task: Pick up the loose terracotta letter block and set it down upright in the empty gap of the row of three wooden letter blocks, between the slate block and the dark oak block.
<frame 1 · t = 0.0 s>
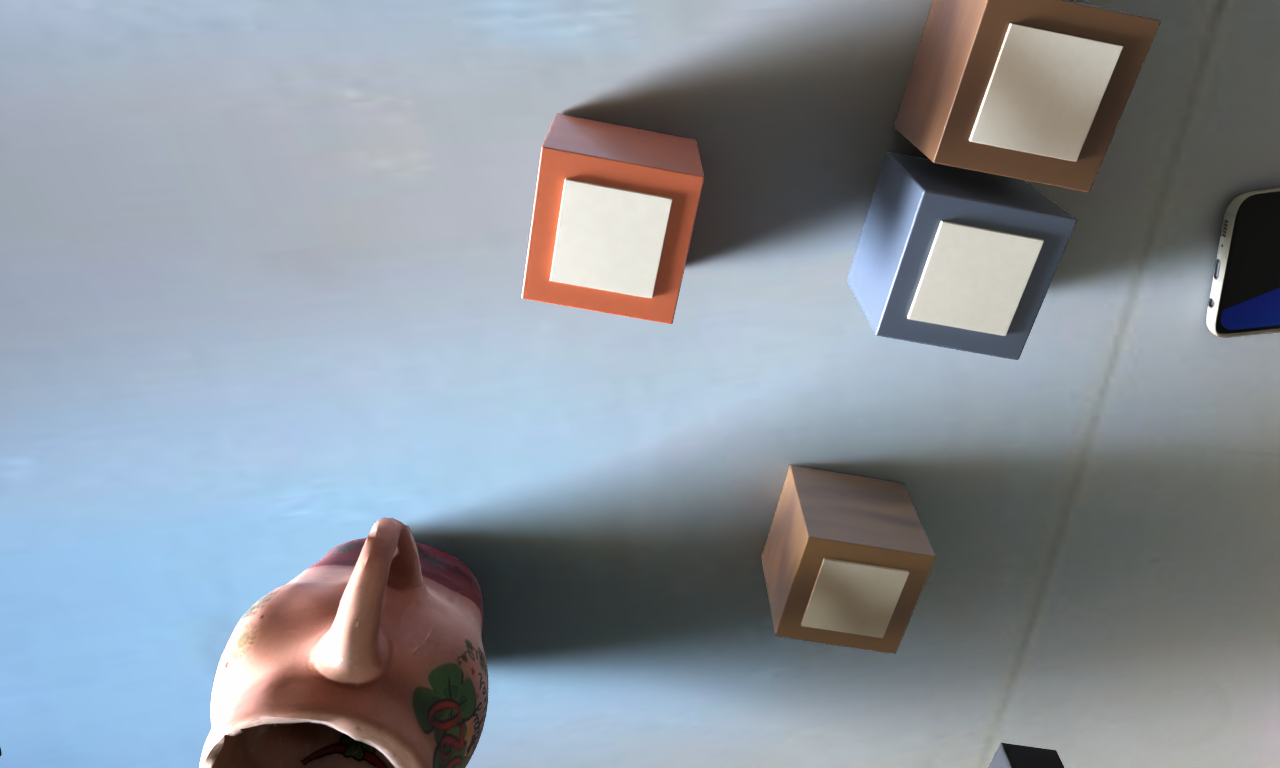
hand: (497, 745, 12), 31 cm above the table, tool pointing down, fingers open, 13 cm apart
terracotta block: (615, 195, 40), on the table
slate block: (930, 230, 40), on the table
oak block: (830, 520, 48), on the table
ceramic mug: (399, 575, 50), on the table
walnut block: (986, 67, 37), on the table
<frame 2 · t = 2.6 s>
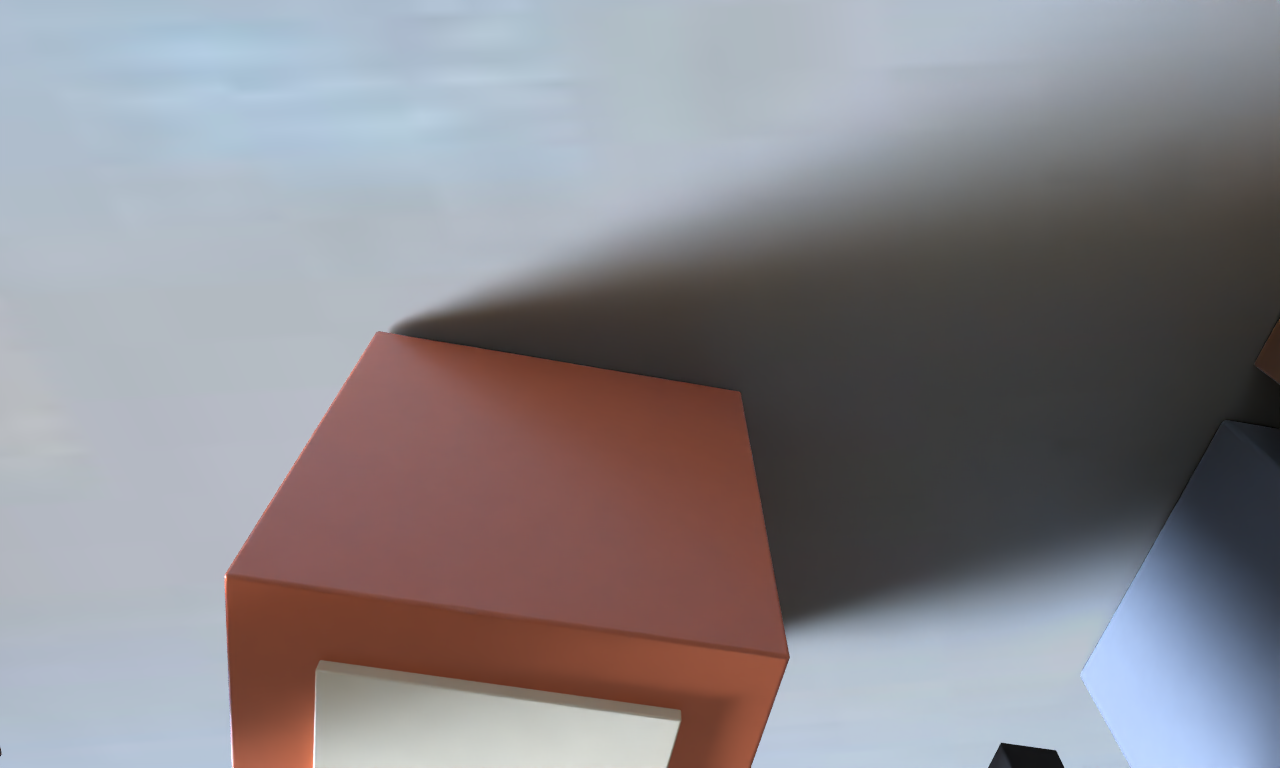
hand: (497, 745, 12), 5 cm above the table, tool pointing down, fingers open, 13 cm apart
terracotta block: (538, 508, 16), on the table
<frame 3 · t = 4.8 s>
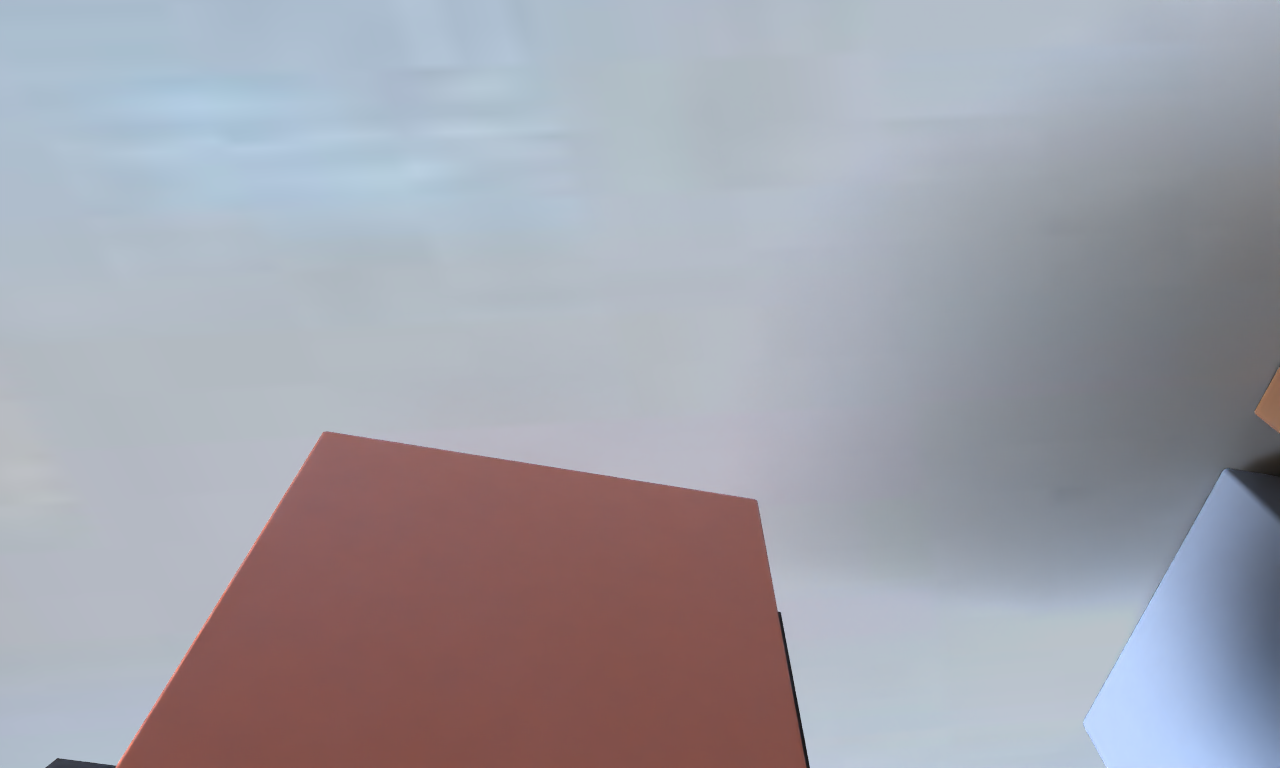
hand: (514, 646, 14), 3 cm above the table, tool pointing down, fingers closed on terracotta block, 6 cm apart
terracotta block: (518, 628, 14), point 2 cm above the table, touching gripper
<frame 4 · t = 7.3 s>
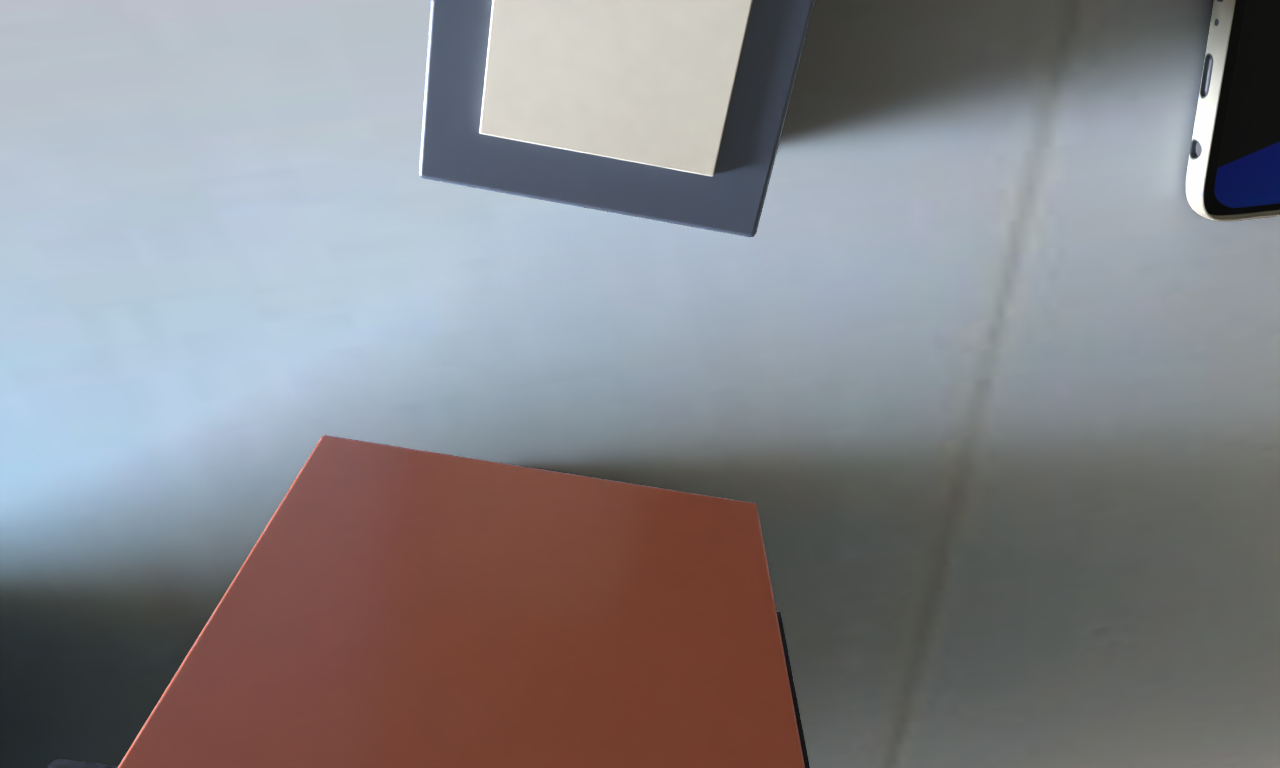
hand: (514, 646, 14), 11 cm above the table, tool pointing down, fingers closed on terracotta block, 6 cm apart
terracotta block: (517, 632, 14), point 11 cm above the table, touching gripper
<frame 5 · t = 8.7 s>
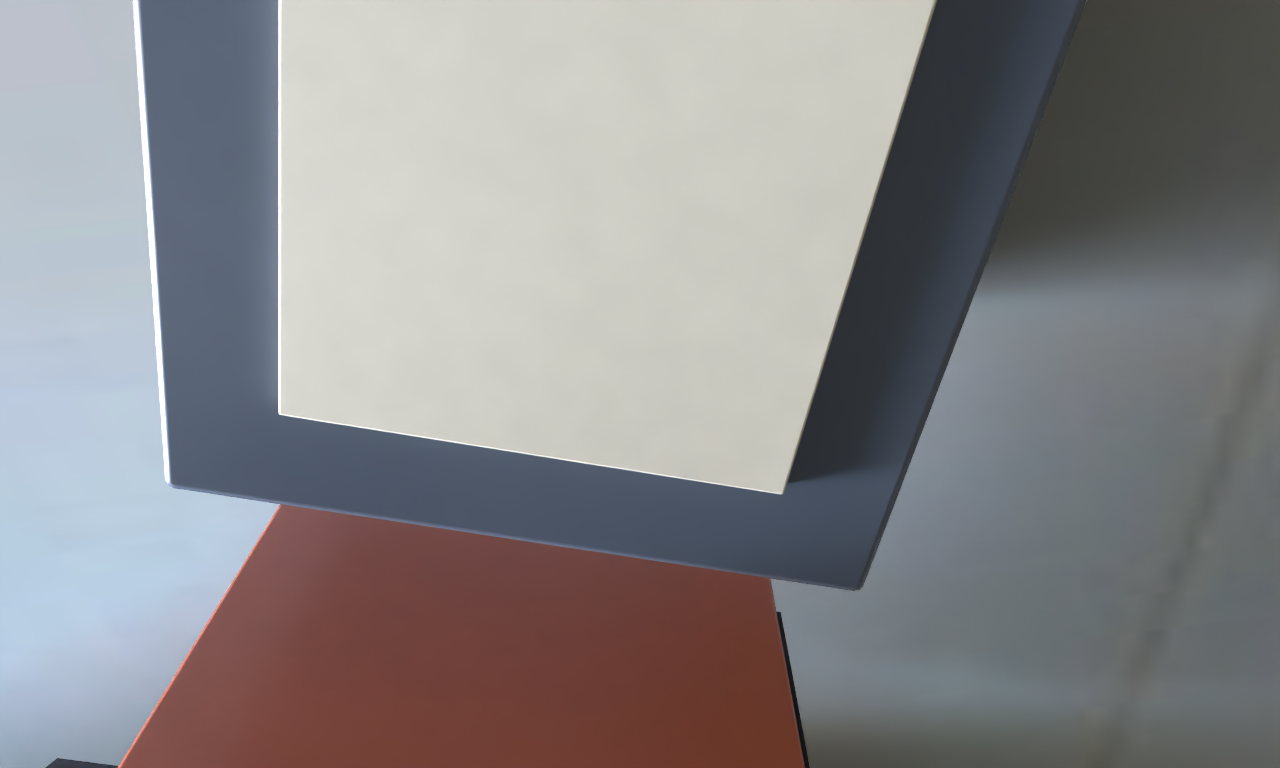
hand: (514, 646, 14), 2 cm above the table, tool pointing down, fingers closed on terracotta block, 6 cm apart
terracotta block: (517, 632, 14), point 2 cm above the table, touching gripper
slate block: (608, 69, 12), on the table
when the fingers open (0 cm above the table, at t = 9.7 s): terracotta block stays where it is, on the table.
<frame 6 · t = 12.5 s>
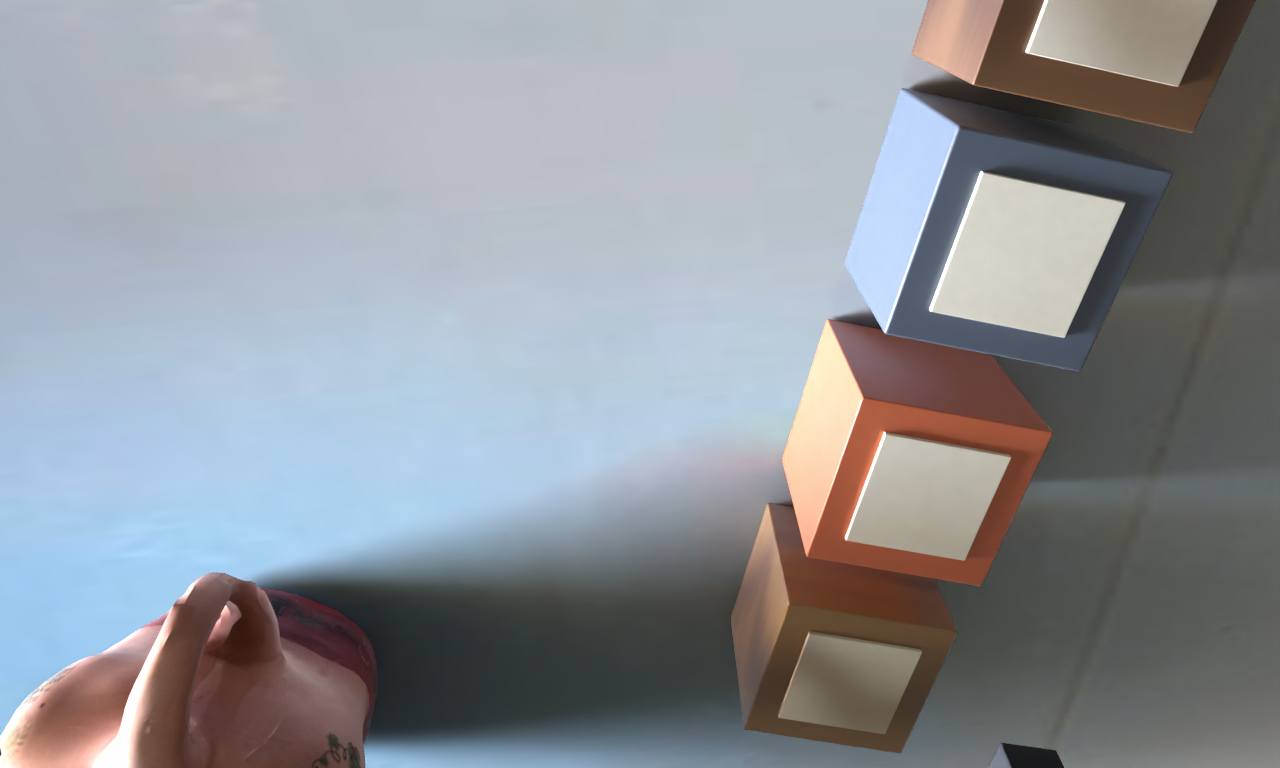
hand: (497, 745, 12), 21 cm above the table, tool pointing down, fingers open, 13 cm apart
terracotta block: (881, 406, 34), on the table
slate block: (956, 197, 30), on the table
oak block: (818, 574, 37), on the table
ceramic mug: (272, 632, 39), on the table
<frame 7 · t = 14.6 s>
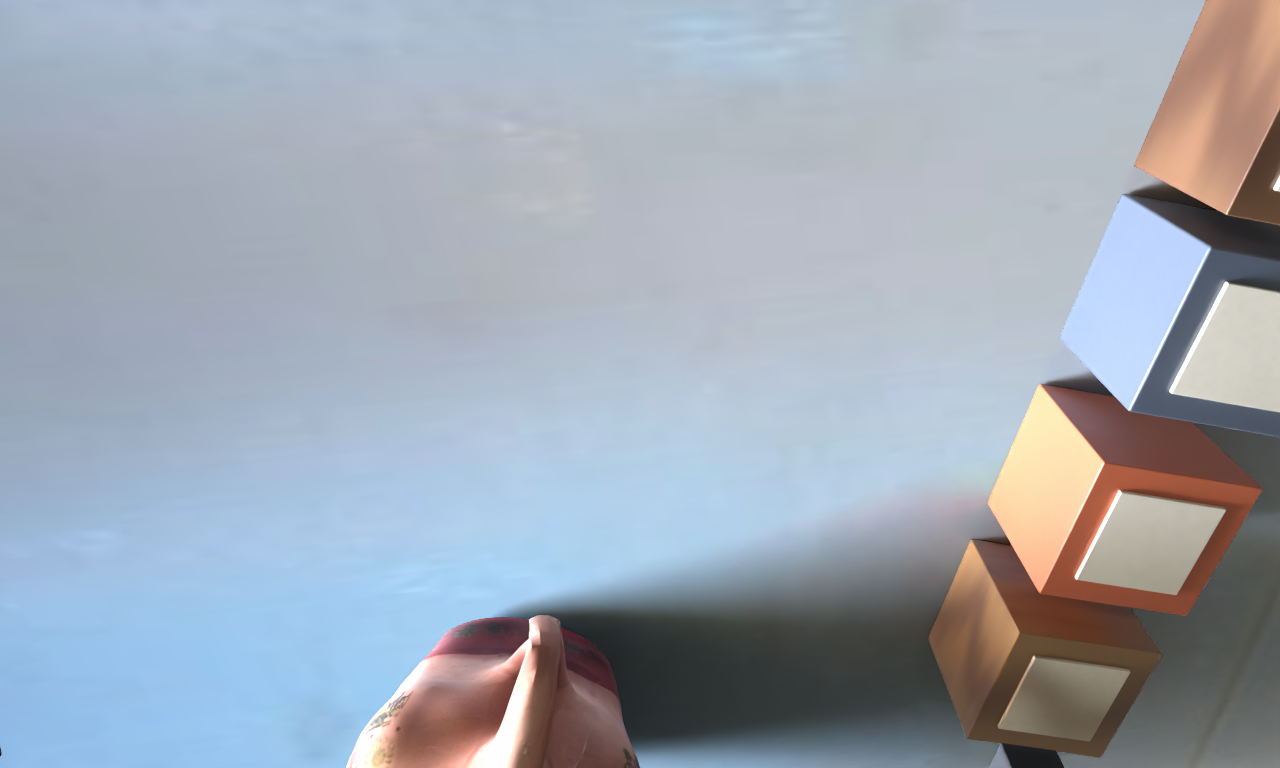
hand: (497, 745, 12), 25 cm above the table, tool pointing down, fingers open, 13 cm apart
terracotta block: (1079, 456, 39), on the table
slate block: (1162, 281, 35), on the table
oak block: (1009, 599, 42), on the table
ceramic mug: (519, 656, 45), on the table
walnut block: (1250, 97, 32), on the table
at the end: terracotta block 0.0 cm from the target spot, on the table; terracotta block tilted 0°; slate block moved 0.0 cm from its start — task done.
